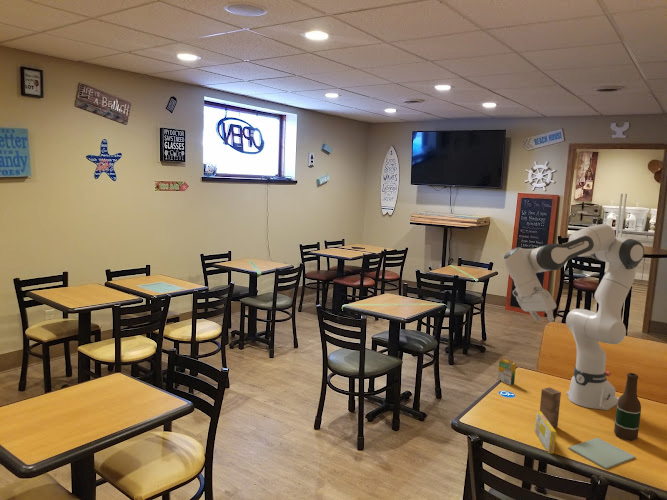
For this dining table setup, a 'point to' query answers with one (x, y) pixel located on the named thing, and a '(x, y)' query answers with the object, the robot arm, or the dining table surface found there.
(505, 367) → the crayon box
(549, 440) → the candy box
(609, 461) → the mat
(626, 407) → the beer bottle
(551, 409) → the walnut block
